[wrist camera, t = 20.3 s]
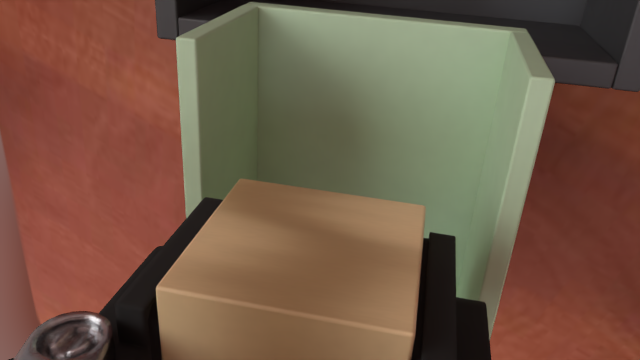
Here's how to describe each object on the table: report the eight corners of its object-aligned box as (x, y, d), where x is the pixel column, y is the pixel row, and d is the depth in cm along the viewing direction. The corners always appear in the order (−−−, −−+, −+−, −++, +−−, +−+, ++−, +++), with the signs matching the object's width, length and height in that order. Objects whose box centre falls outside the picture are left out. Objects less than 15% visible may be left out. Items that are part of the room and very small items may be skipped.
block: (240, 321, 14) (169, 461, 10) (239, 177, 12) (153, 287, 9) (402, 352, 13) (385, 512, 10) (426, 204, 12) (415, 335, 8)
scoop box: (441, 418, 22) (434, 688, 15) (249, 377, 24) (149, 606, 16) (527, 28, 16) (598, 153, 8) (249, 1, 17) (74, 85, 9)
